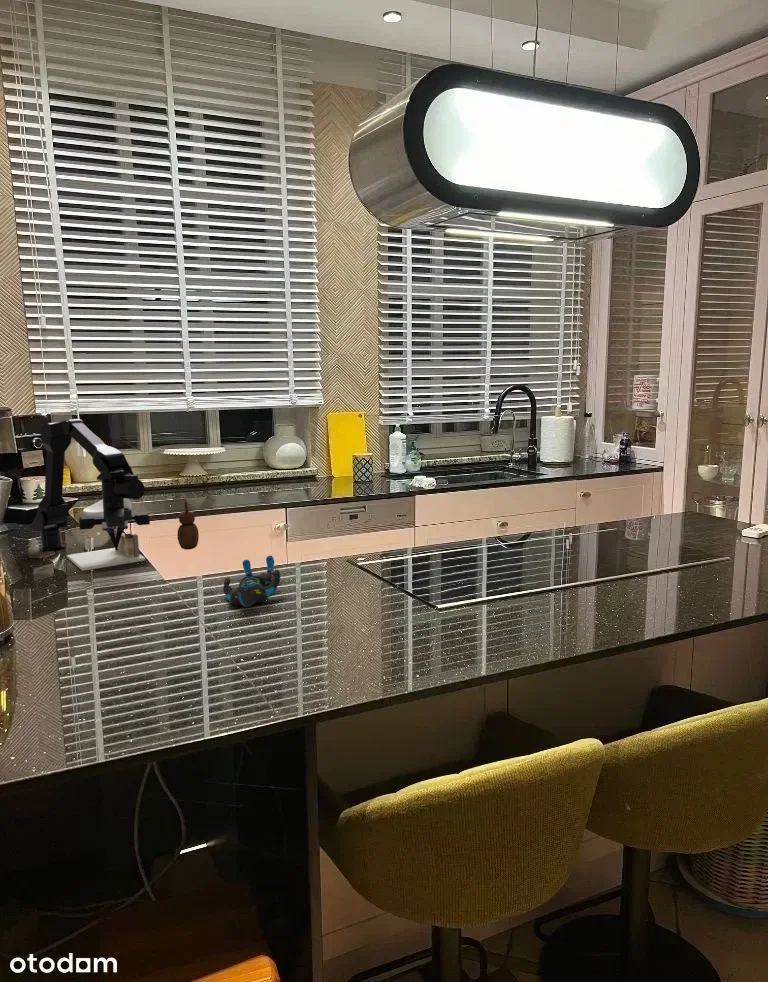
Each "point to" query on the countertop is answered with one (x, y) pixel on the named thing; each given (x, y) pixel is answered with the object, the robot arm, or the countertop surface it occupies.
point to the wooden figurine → (187, 530)
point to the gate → (126, 544)
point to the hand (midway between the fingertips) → (116, 549)
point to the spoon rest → (101, 508)
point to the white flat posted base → (105, 557)
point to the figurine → (253, 585)
